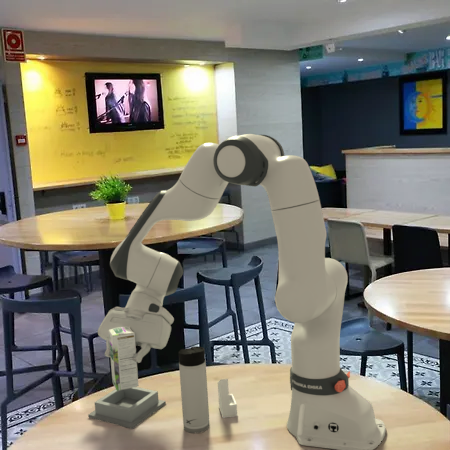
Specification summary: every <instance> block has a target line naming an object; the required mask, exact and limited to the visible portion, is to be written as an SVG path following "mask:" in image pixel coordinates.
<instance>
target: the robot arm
mask: <svg viewBox="0 0 450 450" xmlns="http://www.w3.org/2000/svg"><path fill="white" fill-rule="evenodd" d="M229 183H230V184H234V185H238V186H248V187H258V186H261V187H262V188H263V189H264V190H265V192H266V194H267V197H268V202H269V207H270V213H271V217H272V220H273V226H274V231H275V235H276V239H277V248H278V284H277V287H276V292H275V295H274V301H275V302H274V303H275V306H276V309H277V311H278V313H279V314H280V315H281V316H282V317H283V319H286V320H287V321H289V322H291V323H294V325H293V329H292V331H291V334H290V335H291V336H290V353H291V354H290V355H291V366H290V370H289V372H290V373H289V384H290V391H291V399H290V410H289V415H288V419H287V422H286V427H287V430H288V431H289V433H291V434H292V436H294V437H295V438H296V440H297V442H298V444H299V445H301V446H307V447H313V448H315V447H316V448H323V449H332V450H375V449H376V448H377V447H379V446H380V444H381V443H382V442H383V440H384V439H385V436H386V432H387V431H386V424H385V423H384V421H383V420H381V419H380V418H376V415H375V409H374V407H373V405H372V403H371V402H370V401H369V400H368V399H367V398H366V397H364V396H363V395H362V394H361V393H359V392H358V391H357V390H355V388H353V387H352V386H351V385H350V384H349V381H350V380H349V378H350V377H351V371H347V373H345V371H343V369H342V367H341V355H340V354H341V353H340V352H341V351H340V349H341V347H340V339H341V337H340V336H341V335H340V334H341V326H342V321H343V313H344V306H345V305H344V304H345V295H346V294H345V293H346V290H347V285H348V282H349V281H348V279H349V278H348V272H347V270H346V267H344V265H343V264H342V263H341V262H340V261H339V260H337V259H334V258H330V257H326V240H327V229H326V223H325V219H324V214H323V209H322V204H321V199H320V196H319V192H318V189H317V184H316V182H315V179H314V176H313V173H312V171H311V168H310V166H309V164H308V162H307V161H306V159H304V158H303V157H301V156H299V155H294V154H293V155H292V154H288V155H285V152H284V149H283V146H282V144H281V143H280V141H278V140H277V139H276V138H274V137H273V136H270V135H267V134H254V133H247V134H246V133H245V134H241V135H234V136H230V137H228V138H226V139H225V140H223V141H222V142H220V143H215V142H205V143H202V144H200V145H199V146H198V147H197V148H196V150H195V151H193V153H192V154H191V157H190V158H189V159H188V161H187V162H186V165H185V166H184V168H183V170H182V172H181V174H180V176H179V178H178V180H177V181H176V183H175V184H174V185H173V186H171V188H169V189H165V190H160V191H158V193H156V194H155V196H154V197H152V199H151V201H150V202H149V204H148V205H147V206H146V207H145V208H144V210H143V212H142V213H141V214H140V216H139V218H138V219H137V220H136V222H135V223H134V224H133V226H132V227H131V228H130V230H129V232H128V234H126V236H125V238H124V239H123V240H122V241H121V242H120V243H119V244H118V245H117V246H116V247H115V249H114V250H113V251H112V254H111V256H110V261H109V267H110V269H111V271H112V272H113V274H114V276H115V277H116V278H120V279H123V280H126V281H130V282H133V283H135V284H136V286H135V288H134V289H133V290H132V291H131V294H130V295H129V297H128V300H127V303H126V305H125V307H120V306H114V307H113V308H111V309H110V310H108V312H107V314H106V315H105V317H104V318H103V320H102V322H101V324H100V325H99V326H98V329H97V334H98V336H99V337H100V338H101V339H102V340H105V345H106V350H105V352H104V356H105V357H108V358H111V357H110V342H109V330H110V329H114V328H119V327H130V328H131V329H132V330H133V332H134V333H135V344H136V346H139V347H140V348H141V349H140V350H139V351H138V352H136V353H135V354H134V357H133V361H134V362H137V364H139V363H142V360H143V358H144V357H145V356H146V355H147V354H149V353H150V351H151V348H152V349H158V350H162V349H164V348H165V347H166V346H167V344H168V341H169V338H170V335H171V332H172V326H171V325H172V324H173V323H174V321H175V318H174V317H173V315H172V314H171V313H170V312H169V311H168V310H167V309H166V308H165V307H163V305H164V304H163V303H164V299H165V297H167V296H170V295H172V294H175V293H176V292H177V289H178V287H179V282H180V279H181V278H182V276H183V274H184V269H183V267H182V264H181V262H180V261H179V260H178V259H176V258H175V257H172V256H171V255H169V254H168V253H165V252H161V251H158V250H155V249H153V248H150V247H148V246H146V245H144V244H143V243H142V242H143V241H144V239H145V238H146V237H147V236H148V234H149V233H150V231H151V230H152V229H153V227H154V225H156V223H158V222H161V221H181V222H193V221H194V222H195V221H200V220H204V219H205V218H207V217H209V216H210V215H211V214H212V213H213V212H214V210H215V209H216V207H217V205H218V204H219V202H220V201H221V198H222V196H223V194H224V192H225V190H226V188H227V186H228V184H229ZM381 441H382V442H381ZM378 445H379V446H378Z"/></svg>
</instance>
